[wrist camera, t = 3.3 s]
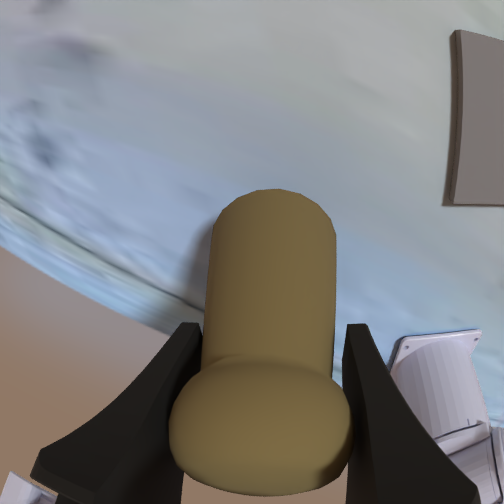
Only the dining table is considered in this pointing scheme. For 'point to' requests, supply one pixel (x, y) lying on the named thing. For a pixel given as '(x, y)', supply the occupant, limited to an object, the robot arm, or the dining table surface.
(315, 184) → the dining table surface
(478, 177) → the slate coaster
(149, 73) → the dining table surface
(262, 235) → the cork
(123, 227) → the dining table surface
